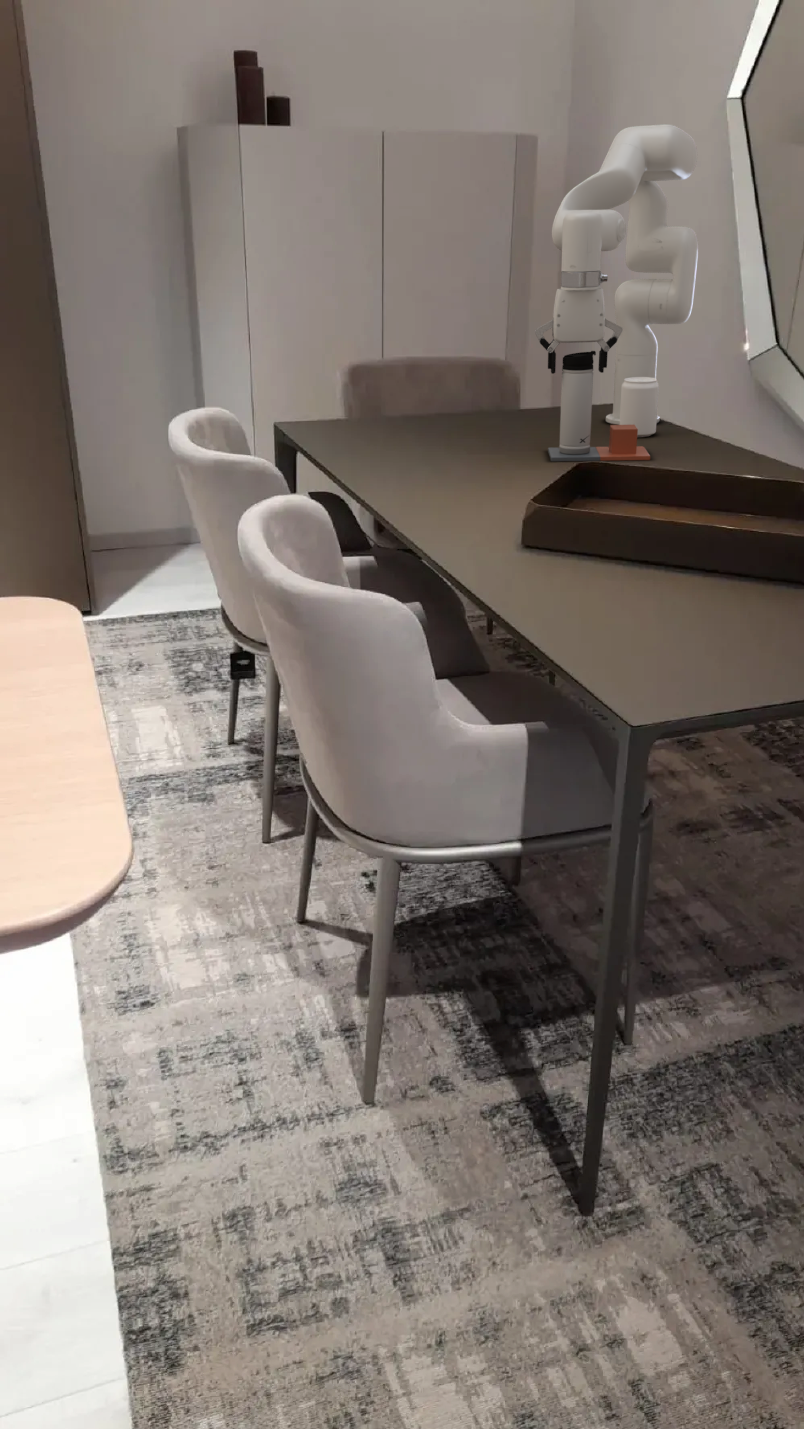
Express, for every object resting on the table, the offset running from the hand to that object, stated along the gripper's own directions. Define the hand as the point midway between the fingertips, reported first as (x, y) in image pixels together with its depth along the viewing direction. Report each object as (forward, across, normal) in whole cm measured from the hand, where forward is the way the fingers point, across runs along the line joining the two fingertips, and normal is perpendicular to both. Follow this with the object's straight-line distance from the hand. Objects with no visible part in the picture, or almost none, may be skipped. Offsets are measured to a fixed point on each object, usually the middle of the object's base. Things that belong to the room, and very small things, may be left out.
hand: (576, 372), depth 222 cm
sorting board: (+17, -5, 0) cm, 18 cm away
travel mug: (+16, 0, 0) cm, 16 cm away
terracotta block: (+16, -10, 0) cm, 19 cm away
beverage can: (+17, -16, -22) cm, 32 cm away
